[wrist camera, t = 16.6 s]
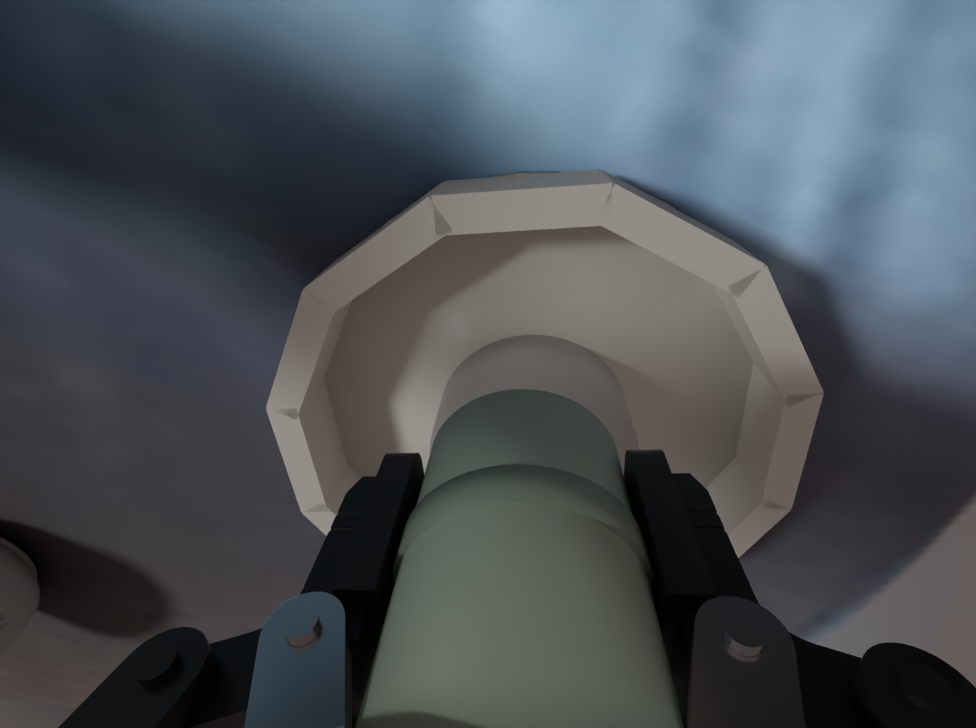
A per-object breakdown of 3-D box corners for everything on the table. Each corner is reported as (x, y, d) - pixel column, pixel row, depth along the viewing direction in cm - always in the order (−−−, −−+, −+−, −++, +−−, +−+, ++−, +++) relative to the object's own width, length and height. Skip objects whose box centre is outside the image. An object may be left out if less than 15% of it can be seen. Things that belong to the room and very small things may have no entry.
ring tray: (253, 191, 24) (198, 211, 20) (820, 149, 21) (887, 164, 17) (359, 561, 35) (338, 621, 31) (731, 563, 33) (758, 627, 29)
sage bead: (413, 387, 11) (306, 661, 6) (629, 382, 11) (728, 674, 5) (438, 538, 13) (377, 838, 8) (618, 539, 13) (681, 858, 7)
